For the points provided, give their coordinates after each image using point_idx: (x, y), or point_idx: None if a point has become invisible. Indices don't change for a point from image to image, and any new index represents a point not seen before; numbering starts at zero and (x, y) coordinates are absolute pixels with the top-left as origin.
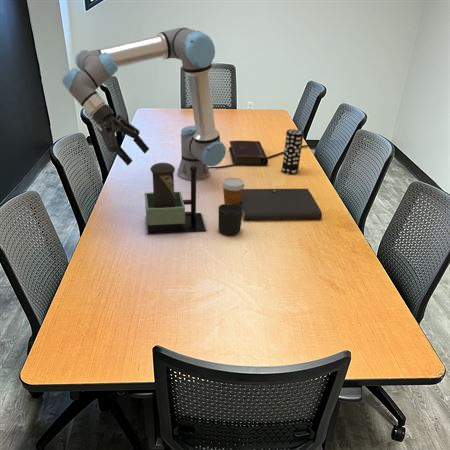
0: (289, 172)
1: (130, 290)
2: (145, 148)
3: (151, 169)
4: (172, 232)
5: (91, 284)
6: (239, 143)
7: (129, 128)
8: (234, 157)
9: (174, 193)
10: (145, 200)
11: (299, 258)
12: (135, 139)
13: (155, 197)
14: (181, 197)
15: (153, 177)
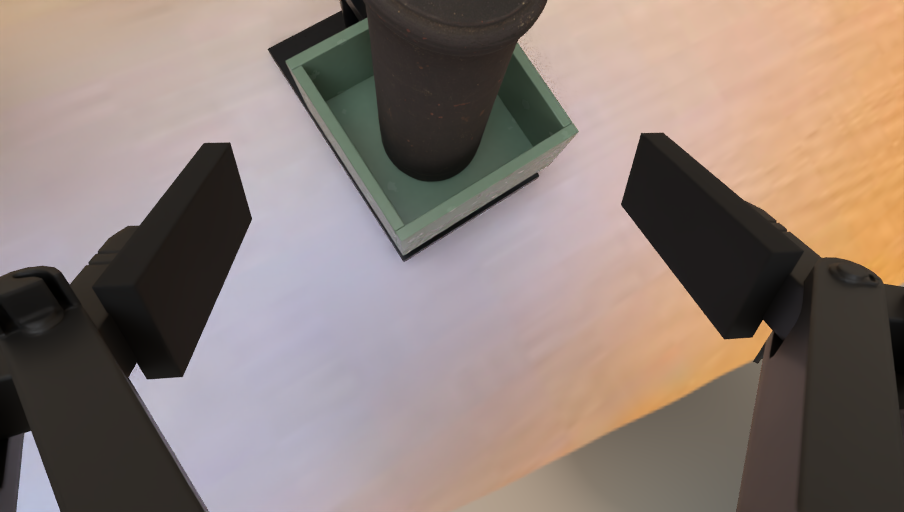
0: None
1: (857, 62)
2: (226, 185)
3: (532, 16)
4: None
5: (899, 187)
6: None
7: (57, 482)
8: None
9: (317, 90)
10: (490, 186)
11: None
12: (174, 328)
13: (491, 109)
14: (360, 26)
15: (510, 48)
